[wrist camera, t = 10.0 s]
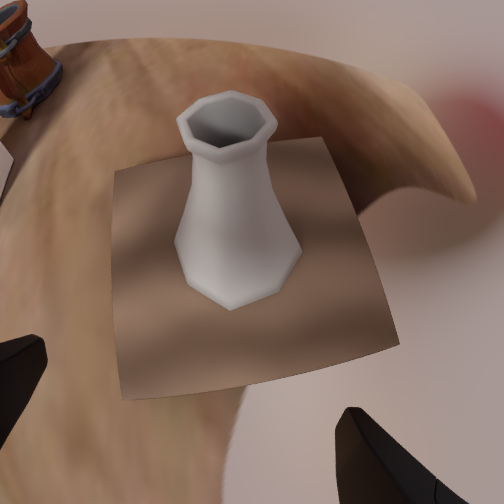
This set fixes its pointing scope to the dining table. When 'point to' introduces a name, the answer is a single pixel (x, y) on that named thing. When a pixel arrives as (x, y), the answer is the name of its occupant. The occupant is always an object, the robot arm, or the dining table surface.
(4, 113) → the mug
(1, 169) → the milk carton
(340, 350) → the walnut board
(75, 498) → the dining table surface
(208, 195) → the flask
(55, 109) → the dining table surface
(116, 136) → the dining table surface
